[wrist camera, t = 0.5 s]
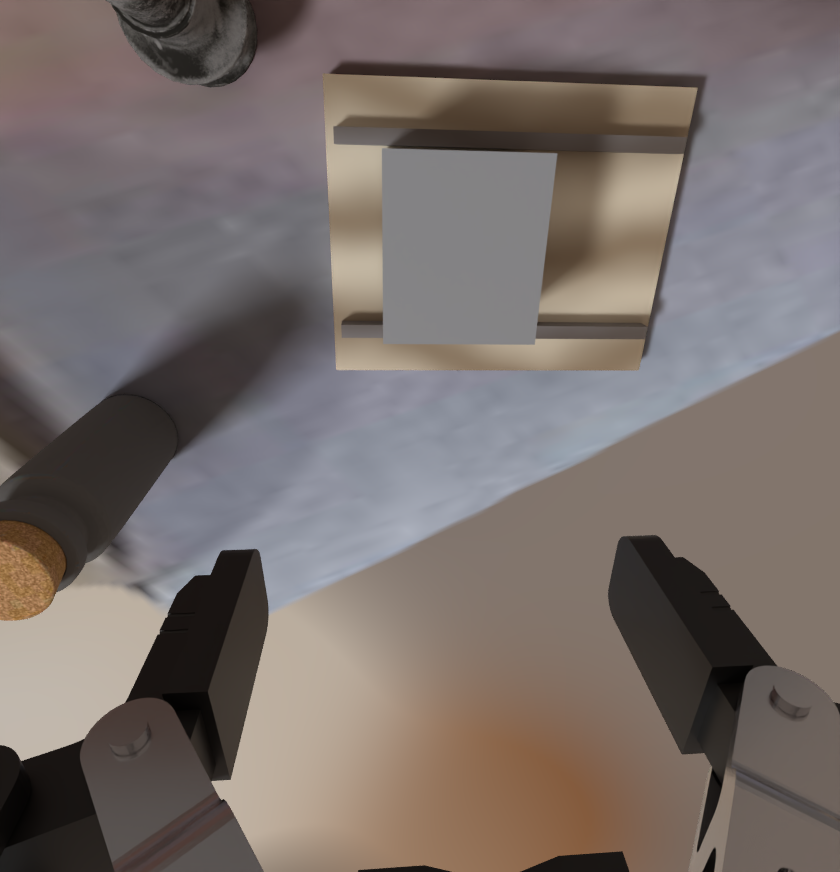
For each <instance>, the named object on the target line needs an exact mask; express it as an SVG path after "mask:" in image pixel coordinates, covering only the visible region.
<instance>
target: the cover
mask: <svg viewBox="0 0 840 872" xmlns="http://www.w3.org/2000/svg"><path fill="white" fill-rule="evenodd" d="M556 161H557V153H530V152H495V151H460V150H425V149H390V148H382V260H383V344H490V345H535V338H536V330H537V321H538V313H539V304H540V296H541V288H542V279H543V271H544V262H545V254H546V245H547V237H548V229H549V220H550V212H551V203H552V195H553V186H554V178H555V170H556Z"/></svg>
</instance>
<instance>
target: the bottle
mask: <svg viewBox="0 0 840 872" xmlns="http://www.w3.org/2000/svg"><path fill="white" fill-rule="evenodd" d="M177 444H178V436H177V431H176V428H175V425H174V423H173V421H172V420H171V418H170V417H169V415H168V414H167V413H166V412H165V411H164V410H163V409H162V408H161V407H159V406H158V405H156V404H155V403H153V402H151V401H149V400H147V399H144V398H142V397H137V396H133V395H119V396H114V397H110V398H108V399H106V400H104V401H102V402H101V403H99V404H98V405H96V406H95V407H94V408H93V409H91V410H90V411H89V412H88V413H86V414H85V415H84V416H83V417H81V418H80V419H79V420H78V421H77V422H75V423H74V424H73V425H72V426H70V427H69V428H68V429H67V430H66V431H64V432H63V433H62V434H61V435H60V436H58V437H57V438H56V439H55V440H54V441H52V442H51V443H50V444H49V445H47V446H46V447H45V448H44V449H43V450H41V451H40V452H39V453H38V454H37V455H35V456H34V457H33V458H32V459H31V460H29V461H28V462H27V463H26V464H25V465H24V466H22V467H21V468H20V469H19V470H18V471H16V472H15V473H14V474H13V475H12V476H11V477H9V478H8V479H7V480H6V481H5V482H4V483H3V484H2V485H1V486H0V620H22V619H28V618H31V617H34V616H36V615H38V614H40V613H41V612H43V611H44V610H45V609H46V608H47V607H48V606H49V605H50V604H51V603H52V601H53V599H54V596H55V594H56V592H58V591H61V590H63V589H64V588H66V587H67V586H68V585H70V584H71V583H72V582H73V581H74V580H75V578H76V577H77V576H78V575H79V573H80V572H81V570H82V569H83V567H84V565H85V563H87V562H90V561H92V560H94V559H95V558H97V557H98V556H99V555H101V554H102V553H103V552H104V551H105V549H106V548H107V547H108V546H109V545H110V543H111V542H112V541H113V539H114V538H115V537H116V535H117V534H118V533H119V531H120V530H121V529H122V527H123V526H124V525H125V523H126V522H127V521H128V519H129V518H130V516H131V515H132V514H133V512H134V511H135V509H136V508H137V507H138V505H139V504H140V502H141V501H142V500H143V498H144V497H145V496H146V494H147V493H148V491H149V490H150V489H151V487H152V486H153V484H154V483H155V482H156V480H157V479H158V477H159V476H160V475H161V473H162V472H163V470H164V469H165V468H166V466H167V465H168V463H169V462H170V460H171V459H172V457H173V456H174V454H175V452H176V448H177Z"/></svg>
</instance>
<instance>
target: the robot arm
mask: <svg viewBox="0 0 840 872" xmlns="http://www.w3.org/2000/svg"><path fill="white" fill-rule="evenodd" d="M608 591H609V592H608V599H609V606H610V610H611V613H612V616H613V618H614V620H615V622H616V624H617V626H618V628H619V630H620V632H621V634H622V636H623V638H624V640H625V642H626V644H627V646H628V648H629V650H630V652H631V654H632V656H633V658H634V660H635V662H636V664H637V666H638V668H639V670H640V672H641V674H642V676H643V678H644V680H645V682H646V684H647V686H648V688H649V690H650V692H651V694H652V696H653V698H654V700H655V702H656V704H657V706H658V708H659V710H660V712H661V713H662V716H663V718H664V720H665V722H666V724H667V726H668V728H669V730H670V731H671V733H672V735H673V738H674V739H675V741H676V744H677V745H678V748H679V750H680V751H681V753H682V754H696V753H705V755H706V756H707V759H708V760H709V762H710V764H711V767H710V770H709V772H708V775H707V780H706V785H705V790H704V795H703V800H702V806H701V810H700V816H699V821H698V826H697V831H696V836H695V841H694V846H693V851H692V856H691V861H690V865H689V869H688V872H840V704H838V703H835V702H833V701H832V699H831V698H830V697H829V695H828V694H827V693H826V692H824V690H823V689H821V688H820V687H819V686H818V685H817V684H815V683H814V682H812V681H811V680H809V679H808V678H806V677H804V676H803V675H801V674H799V673H796V672H794V671H792V670H789V669H786V668H782V667H778V666H777V665H776V664H775V663H774V661H773V660H772V659H771V657H770V656H769V655H768V654H767V652H766V651H765V650H764V649H763V647H762V646H761V645H760V643H759V642H758V641H757V640H756V638H755V637H754V636H753V634H752V633H751V632H750V630H749V629H748V628H747V627H746V625H745V624H744V623H743V621H742V620H741V619H740V618H739V616H738V615H737V614H736V612H735V611H734V610H731V608H730V605H729V604H728V602H727V601H726V600H725V598H724V597H723V596H722V595H719V591H718V589H717V588H716V587H715V586H714V584H713V583H712V582H711V580H710V579H709V578H708V577H707V575H706V574H705V573H704V572H703V571H701V570H700V569H699V568H697V567H696V566H694V565H693V564H692V563H690V562H689V561H688V560H686V559H685V558H683V557H678V558H675V557H674V556H673V554H672V553H671V552H670V550H669V549H668V548H667V546H666V545H665V544H664V542H663V541H662V540H661V538H660V537H658V536H656V535H648V536H624V537H621V538H620V540H619V542H618V545H617V550H616V555H615V560H614V565H613V570H612V574H611V579H610V585H609V590H608ZM267 626H268V600H267V594H266V587H265V581H264V575H263V569H262V563H261V557H260V553H259V551H258V550H257V549H247V550H223V551H221V552H220V554H219V556H218V558H217V561H216V563H215V566H214V568H213V570H212V573H211V575H198V576H194V577H193V578H192V579H191V580H190V581H189V582H188V583H187V584H186V585H185V586H184V587H183V588H182V589H181V590H180V591H179V592H178V593H177V595H176V597H175V599H174V601H173V603H172V605H171V608H170V610H169V612H168V617H167V618H165V620H164V622H163V625H162V627H161V629H160V634H159V635H157V637H156V639H155V642H154V644H153V646H152V648H151V650H150V652H149V654H148V656H147V659H146V661H145V663H144V665H143V667H142V669H141V671H140V673H139V676H138V678H137V680H136V682H135V684H134V686H133V688H132V690H131V692H130V695H129V697H128V699H127V700H126V702H125V703H124V704H122V705H120V706H118V707H116V708H114V709H113V710H111V711H110V712H108V713H107V714H106V715H104V716H103V717H102V718H101V719H100V720H99V721H98V722H97V723H96V724H95V725H94V726H93V727H92V728H91V730H90V731H89V733H88V734H87V736H86V737H85V739H83V740H81V741H79V742H77V743H74V744H71V745H69V746H66V747H63V748H60V749H57V750H54V751H51V752H48V753H45V754H42V755H39V756H36V757H33V758H30V759H27V760H24V761H21V760H20V759H19V757H18V755H17V754H16V752H15V751H14V750H13V749H11V748H9V747H6V746H2V745H0V872H264V871H263V869H262V867H261V865H260V864H259V862H258V860H257V858H256V856H255V854H254V852H253V850H252V848H251V846H250V845H249V843H248V840H247V839H246V837H245V835H244V833H243V831H242V829H241V827H240V825H239V823H238V821H237V819H236V818H235V816H234V814H233V812H232V810H231V808H230V807H229V805H228V804H227V802H226V801H225V800H224V799H223V800H221V799H220V798H219V796H218V794H217V793H216V791H215V789H214V787H213V785H212V783H211V781H217V780H230V779H231V775H232V772H233V767H234V763H235V759H236V755H237V751H238V747H239V742H240V739H241V734H242V731H243V726H244V722H245V718H246V714H247V710H248V706H249V701H250V698H251V694H252V690H253V685H254V681H255V677H256V673H257V669H258V665H259V661H260V657H261V653H262V649H263V644H264V640H265V636H266V632H267ZM358 872H450V871H446V870H442V869H437V868H433V867H429V866H411V867H396V868H383V869H368V870H358ZM522 872H629V869H628V866H627V864H626V861H625V858H624V855H623V852H609V853H595V854H580V855H567V856H558V857H555V858H553V859H550V860H548V861H546V862H543V863H541V864H538V865H536V866H533V867H531V868H529V869H526V870H524V871H522Z"/></svg>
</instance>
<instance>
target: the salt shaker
mask: <svg viewBox="0 0 840 872" xmlns="http://www.w3.org/2000/svg"><path fill="white" fill-rule="evenodd" d="M106 1H107V2H109V3H111V5H112V7H113V8H114V10H115V11H116V13H117V17H118V21H119V24H120V26H121V28H122V30H123V32H124V34H125V36H126V38H127V40H128V42H129V44H130V45H131V46H132V48H133V49H134V50H135V52H136V53H137V54H138V56H139V57H140V58H141V60H143V61H144V62H145V63H146V64H147V65H148V66H150V67H151V68H152V69H153V70H154V71H155V72H157V73H159V74H161V75H162V76H164V77H166V78H168V79H170V80H172V81H175V82H179V83H184V84H188V85H196V84H197V85H202V86H206V87H220V86H225V85H227V84H230V83H232V82H234V81H236V80H237V79H238V78H239V77H240V76H242V75H243V74H244V73H245V72H246V70H247V68H248V67H249V65H250V64H251V62H252V60H253V56H254V53H255V50H256V44H257V27H256V21H255V15H254V12H253V9H252V7H251V4H250V2H249V0H106Z"/></svg>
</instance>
